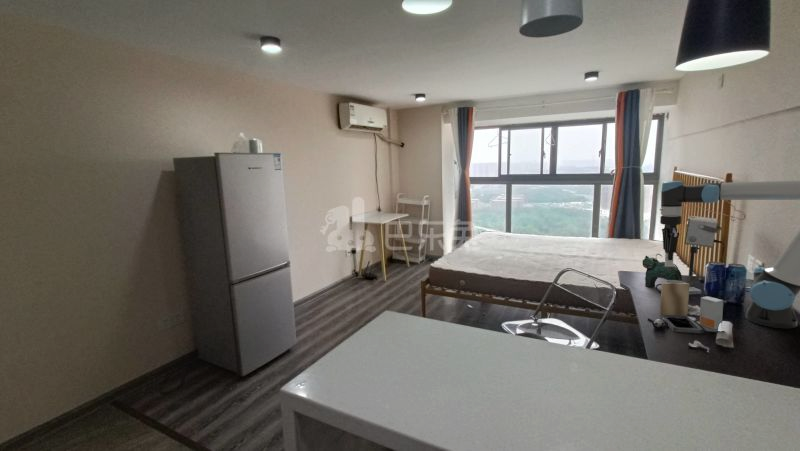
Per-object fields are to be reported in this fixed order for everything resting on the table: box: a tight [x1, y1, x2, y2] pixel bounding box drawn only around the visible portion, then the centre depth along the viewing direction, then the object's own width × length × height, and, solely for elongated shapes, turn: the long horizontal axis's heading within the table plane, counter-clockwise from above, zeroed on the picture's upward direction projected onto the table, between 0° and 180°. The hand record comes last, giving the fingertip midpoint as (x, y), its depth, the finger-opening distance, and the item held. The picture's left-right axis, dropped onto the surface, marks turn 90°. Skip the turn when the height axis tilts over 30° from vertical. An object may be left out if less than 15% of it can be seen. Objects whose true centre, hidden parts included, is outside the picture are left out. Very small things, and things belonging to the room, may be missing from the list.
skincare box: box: [698, 295, 724, 329], centre depth 146 cm, size 6×4×12 cm
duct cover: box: [659, 282, 690, 316], centre depth 157 cm, size 10×15×1 cm
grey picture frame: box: [660, 314, 705, 334], centre depth 151 cm, size 10×15×2 cm, turn 161°
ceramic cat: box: [642, 253, 684, 288], centre depth 194 cm, size 20×6×20 cm, turn 17°
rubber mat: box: [695, 320, 718, 333], centre depth 147 cm, size 6×9×1 cm, turn 161°
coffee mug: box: [655, 280, 686, 294], centre depth 177 cm, size 12×9×10 cm
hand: (668, 266), depth 162 cm, fingers closed
